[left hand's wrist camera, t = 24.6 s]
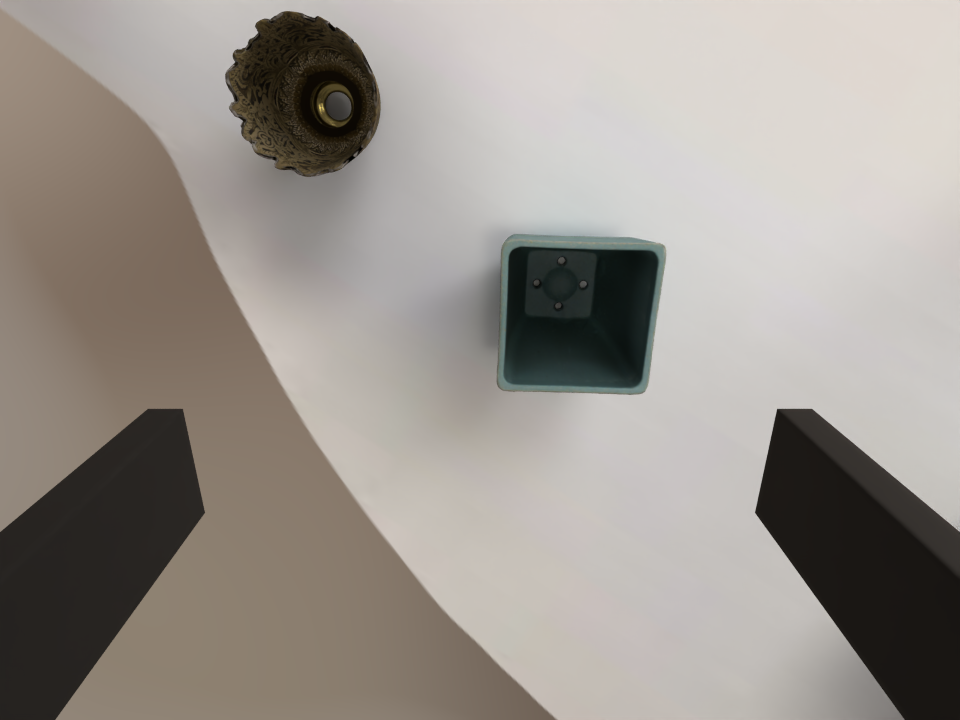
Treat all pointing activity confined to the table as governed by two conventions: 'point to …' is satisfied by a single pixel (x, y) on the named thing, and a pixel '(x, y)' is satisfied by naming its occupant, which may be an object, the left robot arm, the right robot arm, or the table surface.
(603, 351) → the teal square planter
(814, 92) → the table surface
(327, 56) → the cup
